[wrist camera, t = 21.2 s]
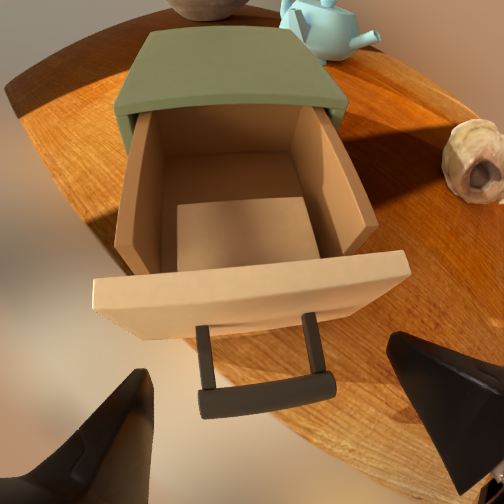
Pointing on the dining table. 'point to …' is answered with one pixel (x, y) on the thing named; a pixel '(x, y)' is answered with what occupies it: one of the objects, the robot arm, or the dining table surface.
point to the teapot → (325, 28)
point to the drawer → (245, 277)
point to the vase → (206, 8)
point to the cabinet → (224, 73)
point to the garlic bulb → (475, 162)
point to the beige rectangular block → (243, 233)
